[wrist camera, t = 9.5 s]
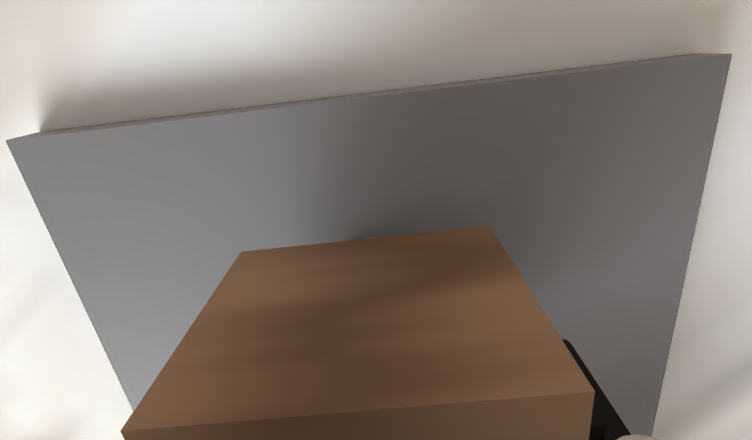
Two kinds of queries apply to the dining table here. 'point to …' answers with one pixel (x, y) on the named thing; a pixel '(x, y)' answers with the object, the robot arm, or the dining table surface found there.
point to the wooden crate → (370, 349)
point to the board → (401, 201)
